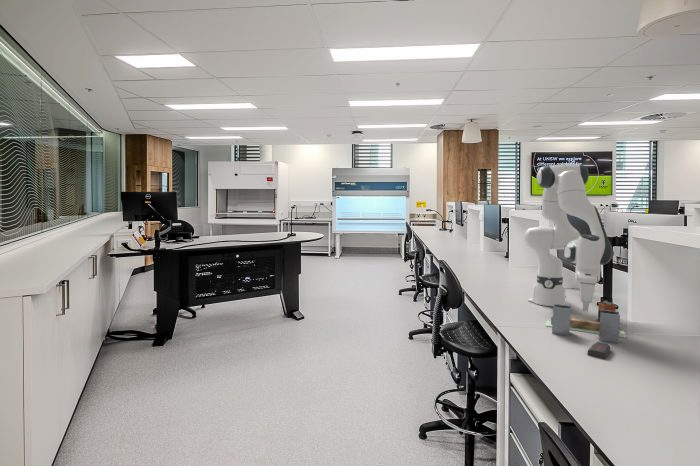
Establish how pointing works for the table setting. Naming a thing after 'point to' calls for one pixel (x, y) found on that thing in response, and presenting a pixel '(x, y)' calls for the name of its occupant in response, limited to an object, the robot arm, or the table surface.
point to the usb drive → (599, 350)
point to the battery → (605, 307)
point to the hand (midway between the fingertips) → (585, 308)
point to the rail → (584, 324)
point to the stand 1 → (561, 319)
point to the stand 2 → (609, 326)
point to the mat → (622, 333)
